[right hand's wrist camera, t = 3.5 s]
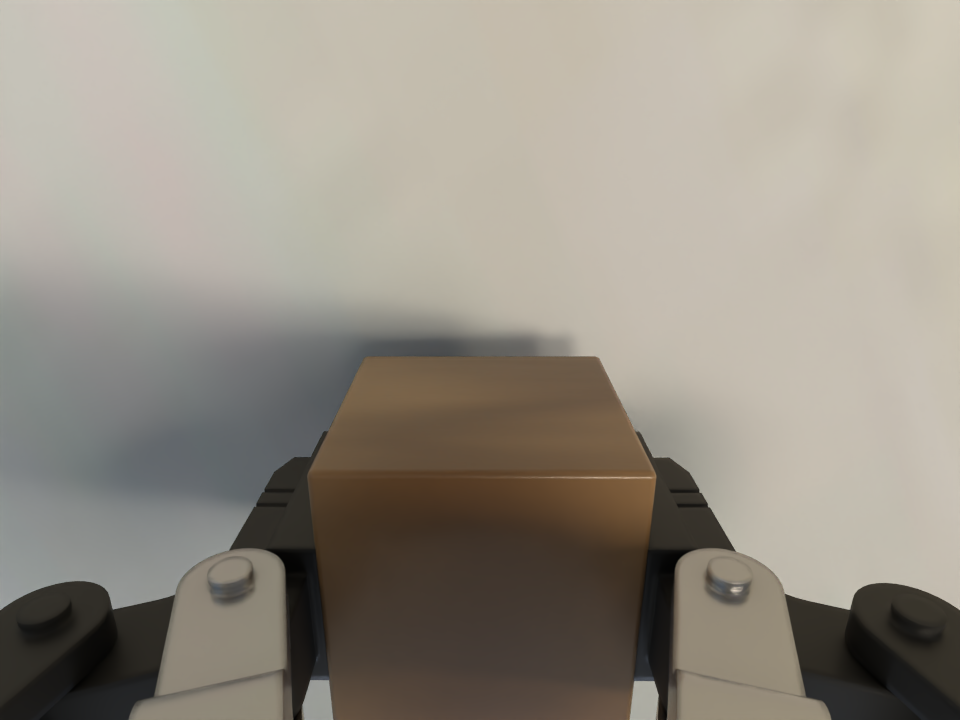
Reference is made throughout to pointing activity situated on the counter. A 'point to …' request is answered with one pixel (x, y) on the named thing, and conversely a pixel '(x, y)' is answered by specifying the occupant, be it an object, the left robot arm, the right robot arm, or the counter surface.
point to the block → (481, 541)
